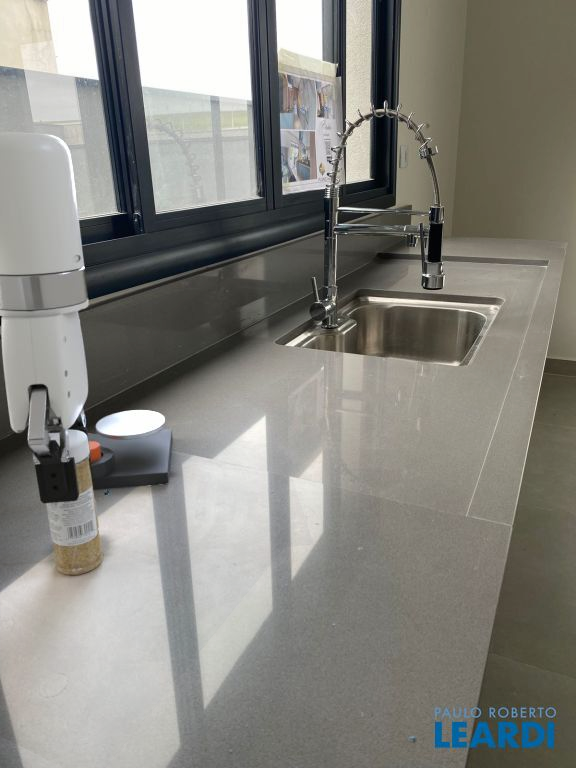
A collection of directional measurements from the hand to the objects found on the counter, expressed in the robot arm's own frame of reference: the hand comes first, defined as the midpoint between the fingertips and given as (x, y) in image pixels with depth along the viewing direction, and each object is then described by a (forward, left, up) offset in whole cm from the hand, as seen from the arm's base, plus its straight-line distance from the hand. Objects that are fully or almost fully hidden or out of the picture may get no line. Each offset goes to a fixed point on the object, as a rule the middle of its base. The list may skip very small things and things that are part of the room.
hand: (67, 481), depth 57 cm
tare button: (-1, +17, -6) cm, 19 cm away
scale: (+2, +22, -9) cm, 24 cm away
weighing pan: (+3, +24, -5) cm, 25 cm away
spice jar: (0, 0, -9) cm, 9 cm away
